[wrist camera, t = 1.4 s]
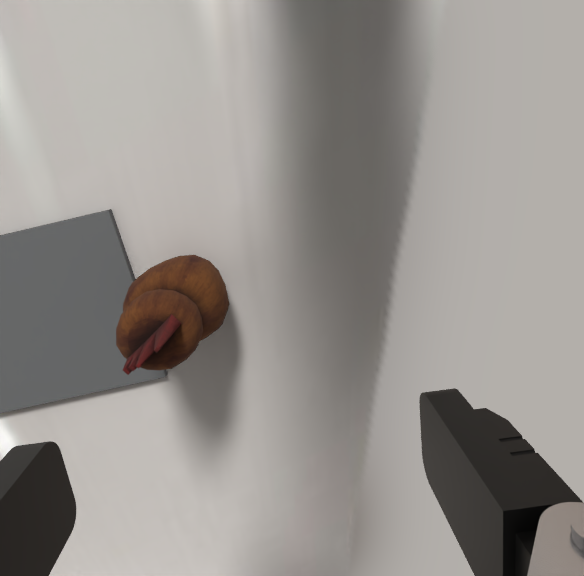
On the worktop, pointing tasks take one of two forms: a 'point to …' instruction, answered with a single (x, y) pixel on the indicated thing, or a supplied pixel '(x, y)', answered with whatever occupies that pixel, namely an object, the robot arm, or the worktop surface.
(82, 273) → the book
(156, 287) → the wooden figurine
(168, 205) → the worktop surface
